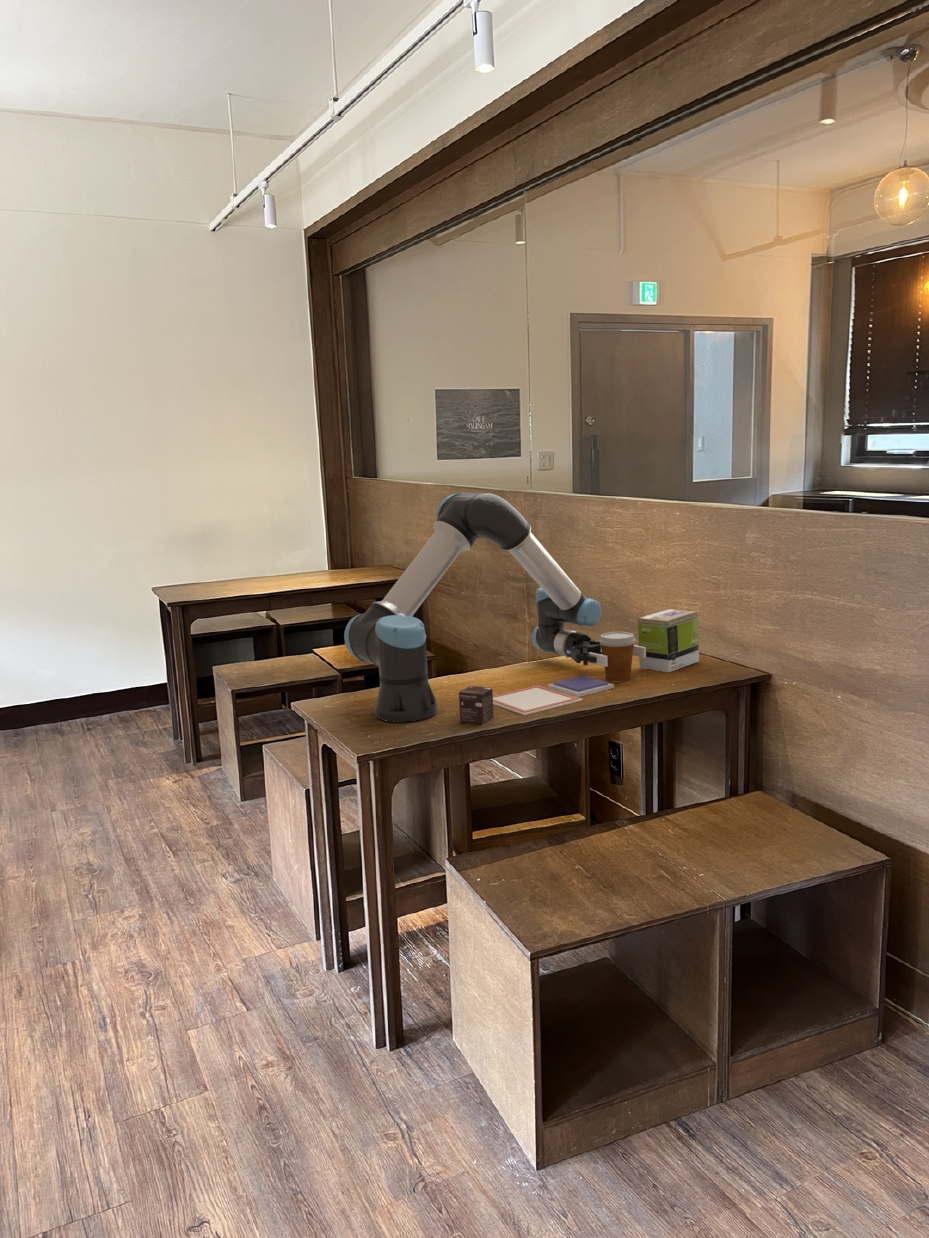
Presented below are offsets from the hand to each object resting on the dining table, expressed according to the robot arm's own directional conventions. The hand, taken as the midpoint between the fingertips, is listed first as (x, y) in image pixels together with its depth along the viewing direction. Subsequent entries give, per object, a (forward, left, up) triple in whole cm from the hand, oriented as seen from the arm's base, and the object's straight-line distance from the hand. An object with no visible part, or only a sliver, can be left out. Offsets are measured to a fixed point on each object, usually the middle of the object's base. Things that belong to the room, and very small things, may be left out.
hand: (626, 657), depth 231 cm
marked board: (-29, +3, -7) cm, 30 cm away
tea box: (+20, +4, -7) cm, 22 cm away
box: (-48, -1, -7) cm, 48 cm away
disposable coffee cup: (0, +3, -7) cm, 8 cm away
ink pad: (-13, +3, -7) cm, 15 cm away
